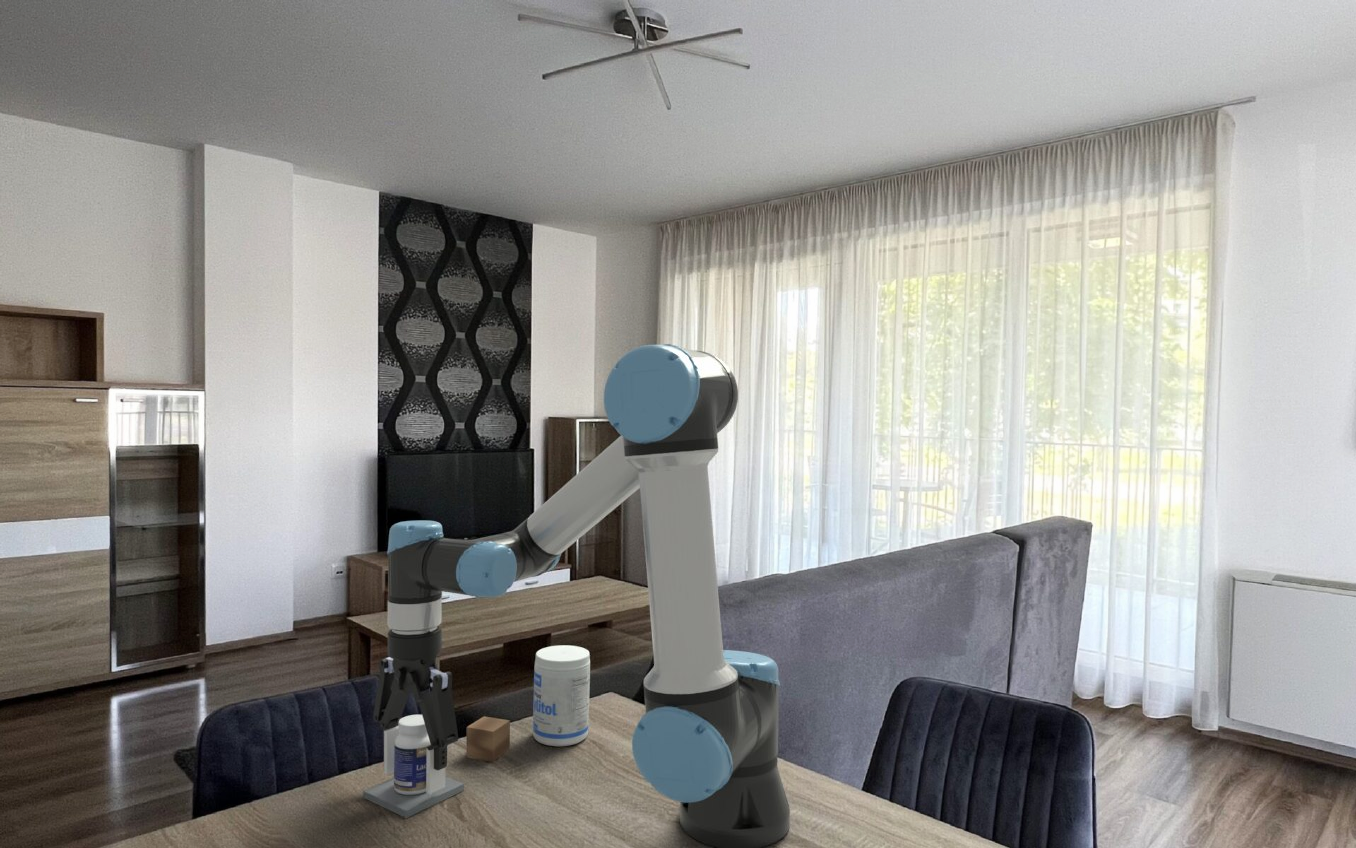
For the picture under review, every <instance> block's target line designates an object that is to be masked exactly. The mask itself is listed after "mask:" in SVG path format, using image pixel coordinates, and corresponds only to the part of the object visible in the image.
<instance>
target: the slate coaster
mask: <svg viewBox="0 0 1356 848" xmlns="http://www.w3.org/2000/svg"><path fill="white" fill-rule="evenodd" d="M464 785H465V784H464V783H463V782H460V781H458V780H455V779H453V778H451V777H448V776H446V775H445V787H444V788H442V789H440V790H438V791H436V792H433V793H431V794H428V793H426V792H424V793H420V794H416V795H404V794H400V793H398V792H396V791H395V789H394V777H392V778H390V779H388V780H386V781H383V782H381V783H378V784H376V785H373V786H371V787H369V788H367V789H364V790H362V798H363V799H365V800H368V801H369V802H372V803H374V804H376V805H378V806H380V807H381V808H384V809H386V810H388V811H390V812H392V813H394V814H397V815H398V816H401V817H403V818H405V819H408V818H409V817H411V816H413V815H416V814H418V813H420V812H422V811H424V810H426V809H428V808H430V807H432V806H434V805H437V804H440V803H441V802H442V801H445V800H447V799H449V798H451V797H453V796H455V795H457V794H459V793H462V792H464V790H465V786H464Z"/></svg>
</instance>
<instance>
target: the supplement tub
mask: <svg viewBox="0 0 1356 848" xmlns="http://www.w3.org/2000/svg"><path fill="white" fill-rule="evenodd" d="M590 657H591V655H590V651H589V650H588V649H587V648H584V647H581V646H577V645H568V644H567V645H563V644H562V645H550V646H547V647H543V648H541V649H539V650H537V651H536V653H535V660H534V668H533V669H534V670H533V671H534V673H533V676H534V677H533V701H532V704H533V709H532V710H533V711H532V712H533V714H532V735H533V738H534V739H535V740H536V741H537V742H538V743H540V744H543V745H545V746H549V747H550V746H553V747H567V746H572V745H576V744H579V743H580V742H582V741H584V740H585V739H586V738H587V736H588V734H589V722H590V721H589V719H590V717H589V716H590V713H589V711H590V687H591V686H590V682H591V659H590Z"/></svg>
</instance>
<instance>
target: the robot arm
mask: <svg viewBox="0 0 1356 848" xmlns="http://www.w3.org/2000/svg"><path fill="white" fill-rule="evenodd" d="M738 403H739V387H738V385H737V380H736V377H735V375H734V373H733V372H732V369H730V367H728V365H727V364H726V362H724V361H723V360H722V359H720V358H719V357H718V356H716V355H715V354H711V353H709V352H705V351H701V350H693V349H688V348H683V347H680V346H677V345H673V344H670V343H668V344H659V343H658V344H647V345H642V346H638V347H636V348H635V347H634V348H633V349H631V350H630V351H628V352H626V353H625V354H624V355H622V357H620V359H619V360H618V361H617V362H616V364H615V365H614V366H613V367H612V369H611V370H610V372H609V374H608V376H607V379H606V382H605V386H604V389H603V406H604V411H605V414H606V417H607V420H608V422H609V423H610V425H611V426H612V427H613V428H614V429H615V430H616V431H617V433H618V434H619V435H620V436H619V437H618V438H616V439H615V441H613V442H612V443H611V444H609V446H607V447H606V448H605V449H604V450H602V452H600V453H599V455H597V456H596V457H594V459H592V460H591V462H589V463H588V464H587V465H586V466H584V467H583V468H582V469H581V470H580V471H579V472H578V473H577V474H576V475H574V476H573V477H572V478H571V479H570V480H569V481H567V482H566V483H565V484H564V485H563V486H562V487H561V488H560V489H558V490H557V492H555V493H554V494H552V496H551V497H550V498H548V499H547V501H545V502H544V503H543V504H542V505H540V506H539V507H538V508H537V509H536V510H534V512H533V513H532V514H530V515H529V516H528V518H526V519H525V520H524V521H522V522H521V523H520V524H519V525H518V526H517V527H516V528H514V529H513V530H511V531H507V532H503V533H498V534H495V535H489V536H485V537H480V538H479V537H478V538H475V539H457V538H456V539H455V538H448V537H447V538H446V537H444V533H443V525H442V524H441V523H440V522H438V521H436V520H435V521H434V520H422V519H421V520H406V521H400V522H397V523H394V524H393V525H391V527H390V528H389V534H388V543H387V545H388V546H387V551H386V554H387V567H388V569H387V571H388V572H387V573H388V574H387V579H388V580H387V581H388V582H387V588H388V589H387V590H388V591H387V621H386V623H387V624H386V626H387V627H388V628H389V629H390V630H389V631H388V632H387V655H388V657H384V658H381V659H379V661H378V664H379V665H378V666H379V677H378V678H379V680H378V684H377V689H376V690H377V691H376V697H375V702H374V709H373V713H372V714H373V715H372V718H373V721H374V722H375V723H377V722H378V723H380V728H381V729H382V746H383V775H385V776H389V775H391V774H394V747H395V739H396V737H397V736H398V735H399V734H400V731H399V730H398V723H399V720H400V719H401V718H402V716H403V713H404V710H405V707H406V705H407V702H408V700H409V699H408V698H409V697H410V694H411V695H413V700H414V701H415V702H416V703H418V705H419V708H420V712H421V715H422V716H423V719H424V723H425V726H426V730H427V733H428V737H429V740H430V743H431V746H428V747H427V764H426V793H428V794H431V793H433V792H436V791H438V790H440V789H442V788H444V787H445V776H446V768H447V766H448V746H449V745H451V744H454V743H456V742H458V741H459V733H458V726H457V719H456V711H455V706H454V704H455V703H454V698H453V689H452V685H453V684H452V683H453V673H452V672H451V671H449V670H447V671H446V672H442V671H441V670H439V669H438V664H437V660H436V659H437V657H438V656H439V654H440V653H441V652H442V650H443V649H442V646H443V645H442V642H443V639H442V637H443V633H442V632H443V630H442V627H440V625H441V624H442V618H443V617H442V613H443V612H442V611H443V610H442V608H443V607H442V603H443V601H442V599H443V598H442V597H443V593H449V594H450V593H451V594H458V595H465V596H470V597H474V598H479V599H482V598H499V597H501V596H504V595H505V594H506V593H507V591H508V590H509V589H510V588H511V587H512V586H513V585H514V583H515V582H520V581H523V580H525V579H530V578H535V577H539V576H542V575H543V574H544V573H546V572H549V571H551V570H552V569H554V568H555V567H556V566H557V564H558V563H559V561H560V559H561V556H562V553H563V552H565V550H567V549H568V548H570V547H571V546H572V545H573V544H575V543H576V541H578V540H579V539H580V538H582V536H584V535H585V534H586V533H588V531H590V530H591V529H592V528H593V527H594V526H596V525H597V524H598V523H600V522H601V521H602V520H603V519H605V517H606V516H608V515H609V514H610V513H612V512H613V511H614V510H615V509H617V507H619V506H620V505H621V504H622V503H624V502H625V501H626V500H628V498H629V497H631V495H633V494H634V493H636V492H637V491H638V490H639V492H640V493H639V494H640V505H641V506H640V507H641V515H642V517H641V518H642V519H641V520H642V530H643V531H642V532H643V542H644V544H643V545H644V554H645V555H644V556H645V564H646V565H645V566H646V580H647V591H648V603H649V615H650V617H649V618H650V626H651V628H650V629H651V640H652V651H653V653H652V654H653V664H654V665H653V667H652V668H651V669H650V671H649V672H648V673H647V674H646V675H645V677H644V678H643V693H644V706H645V713H644V714H643V715H642V717H641V718H640V720H639V721H638V722H637V725H636V727H635V729H634V732H633V735H632V738H631V739H632V740H631V748H632V749H631V750H632V755H633V760H634V762H635V765H636V767H637V770H638V771H639V773H640V775H641V776H642V777H643V779H644V780H645V782H646V783H647V784H651V786H652V787H653V788H654V790H655V792H657V793H658V794H660V795H661V796H663V797H665V798H667V799H669V800H673V801H674V802H678V803H679V802H680V803H679V824H680V826H681V828H682V829H683V830H684V832H685V833H686V834H687V835H688V836H690V837H691V838H693V839H694V840H696V841H698V842H700V843H702V844H705V845H708V846H711V847H716V848H764V847H767V846H770V845H773V844H775V843H777V842H779V841H780V840H781V839H782V838H784V837H785V836H786V835H787V833H788V832H789V829H790V825H791V824H790V823H791V821H790V820H791V819H790V817H791V816H790V815H791V810H790V804H789V801H788V797H787V795H786V791H785V787H784V784H783V781H782V778H781V775H780V771H779V768H778V757H779V756H778V754H779V753H778V752H779V751H778V750H779V749H778V748H779V745H778V743H779V742H778V741H779V695H780V694H779V687H780V686H781V683H780V681H779V668H778V664H777V663H776V661H775V660H774V659H772V658H771V657H769V656H766V655H763V654H759V653H757V652H756V653H755V652H749V651H741V650H729V649H727V650H726V649H724V645H723V633H722V623H721V609H720V601H719V600H720V599H719V598H720V597H719V587H718V585H719V584H718V575H717V564H716V553H715V551H716V549H715V540H714V526H713V519H712V517H713V515H712V504H711V502H712V501H711V493H710V481H709V470H708V466H709V464H710V462H711V461H712V459H714V457H715V456H716V455H717V454H718V452H719V441H718V440H719V439H718V434H719V433H720V432H721V431H722V430H723V429H724V428H725V427H726V426H727V425H728V424H729V423H730V422H731V420H732V418H733V417H734V414H735V412H736V409H737V406H738ZM428 690H429V691H428Z"/></svg>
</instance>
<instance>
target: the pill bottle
mask: <svg viewBox="0 0 1356 848" xmlns="http://www.w3.org/2000/svg"><path fill="white" fill-rule="evenodd" d="M397 726H398V730H399V731H400V734H399V735H398V736H397V737H396V739H395V747H394V773H393V778H394V789H395V791H396V792H398V793H400V794H404V795H416V794H420V793H424V792H426V764H427V747H428V746H431V743H430V740H429V737H428V733H427V730H426V726H425V723H424V719H423V716H422V714H411V715H406V716H404V717H401V719H400V720H399V723H398V724H397Z"/></svg>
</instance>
